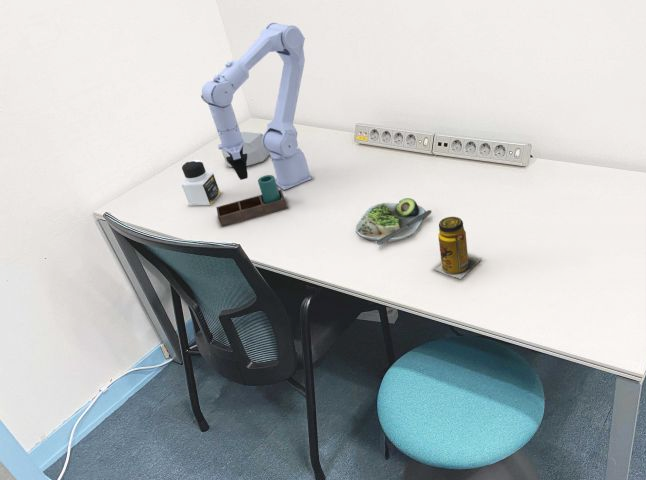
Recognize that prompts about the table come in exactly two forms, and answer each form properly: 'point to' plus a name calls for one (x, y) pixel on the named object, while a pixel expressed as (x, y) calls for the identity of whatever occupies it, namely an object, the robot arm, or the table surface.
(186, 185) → the medicine bottle
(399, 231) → the salad plate
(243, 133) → the rock
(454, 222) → the condiment
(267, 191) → the jar
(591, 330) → the table surface
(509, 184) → the table surface
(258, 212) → the rack
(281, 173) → the robot arm
